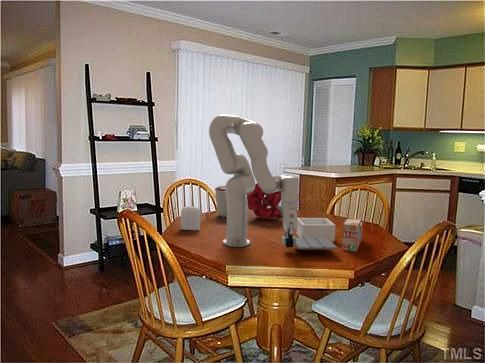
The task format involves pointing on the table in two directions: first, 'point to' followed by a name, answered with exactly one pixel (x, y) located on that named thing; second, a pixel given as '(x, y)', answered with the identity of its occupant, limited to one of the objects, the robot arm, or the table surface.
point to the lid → (311, 242)
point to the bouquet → (264, 203)
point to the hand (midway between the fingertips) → (288, 245)
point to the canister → (221, 200)
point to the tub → (316, 228)
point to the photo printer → (190, 218)
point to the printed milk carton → (352, 234)
